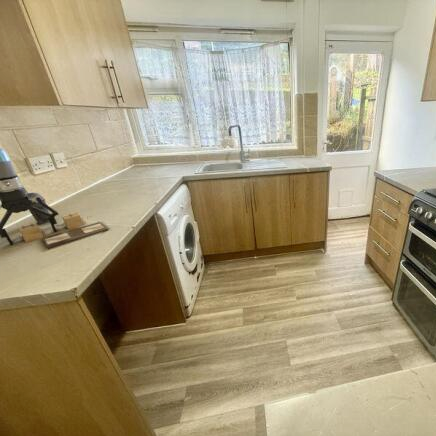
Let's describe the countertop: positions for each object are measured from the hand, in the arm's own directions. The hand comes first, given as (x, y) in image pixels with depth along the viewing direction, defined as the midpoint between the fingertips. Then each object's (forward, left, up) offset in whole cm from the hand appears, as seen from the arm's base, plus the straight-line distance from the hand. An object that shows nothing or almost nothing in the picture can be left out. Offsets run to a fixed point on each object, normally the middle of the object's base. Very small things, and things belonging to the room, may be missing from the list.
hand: (34, 237), depth 104 cm
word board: (+13, +12, 0) cm, 17 cm away
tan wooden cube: (0, +14, 0) cm, 14 cm away
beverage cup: (-15, +6, 0) cm, 16 cm away
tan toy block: (0, 0, 0) cm, 0 cm away
